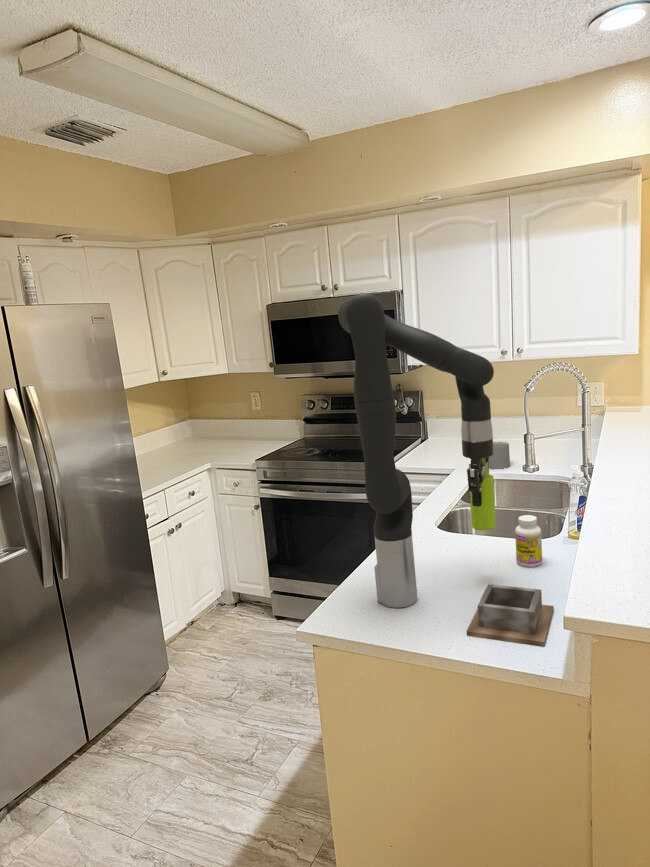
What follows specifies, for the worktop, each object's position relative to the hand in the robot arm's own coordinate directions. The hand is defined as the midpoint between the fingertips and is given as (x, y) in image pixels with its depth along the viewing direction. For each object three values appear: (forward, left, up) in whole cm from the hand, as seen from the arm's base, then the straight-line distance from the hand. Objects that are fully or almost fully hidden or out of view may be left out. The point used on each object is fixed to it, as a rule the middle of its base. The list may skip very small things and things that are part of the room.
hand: (480, 501), depth 152 cm
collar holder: (+10, -20, -21) cm, 31 cm away
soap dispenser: (0, 0, -7) cm, 7 cm away
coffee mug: (-19, +113, -21) cm, 116 cm away
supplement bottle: (+9, +13, -21) cm, 27 cm away
